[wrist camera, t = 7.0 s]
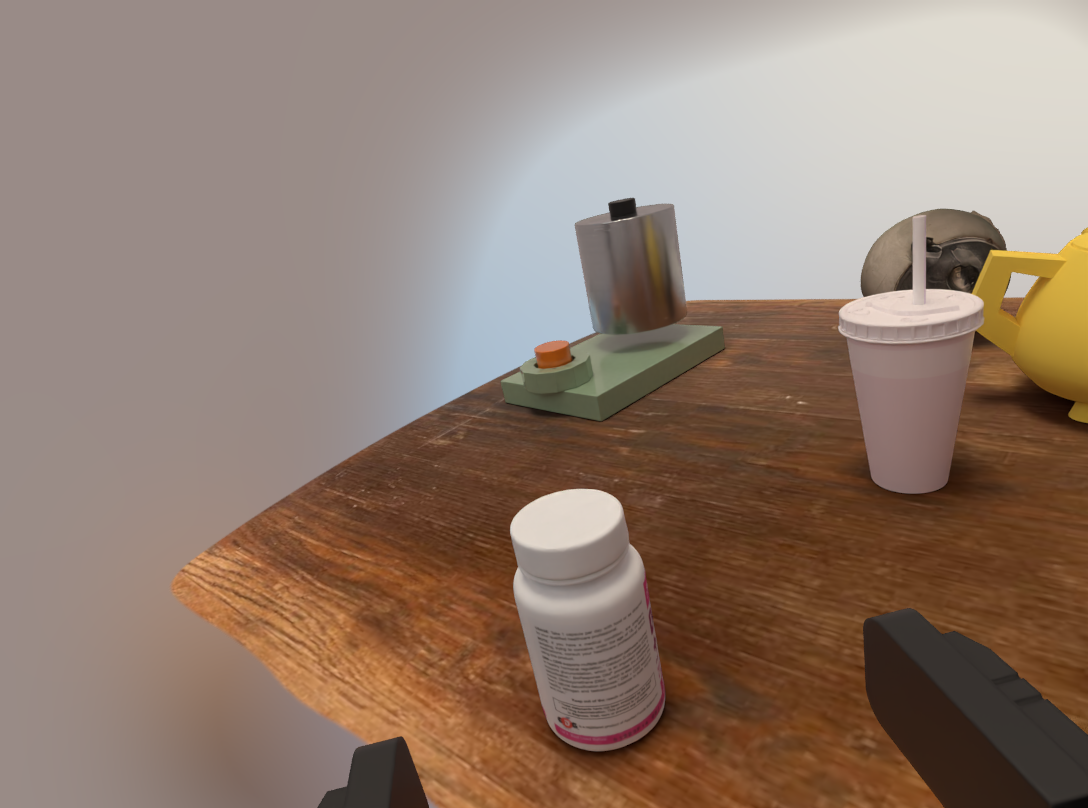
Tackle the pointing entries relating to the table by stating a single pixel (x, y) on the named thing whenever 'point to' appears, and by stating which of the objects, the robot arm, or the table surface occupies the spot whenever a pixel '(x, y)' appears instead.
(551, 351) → the orange push button
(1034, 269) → the teapot
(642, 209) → the kettle
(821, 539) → the table surface
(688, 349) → the base
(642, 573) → the pill bottle
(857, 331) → the smoothie
